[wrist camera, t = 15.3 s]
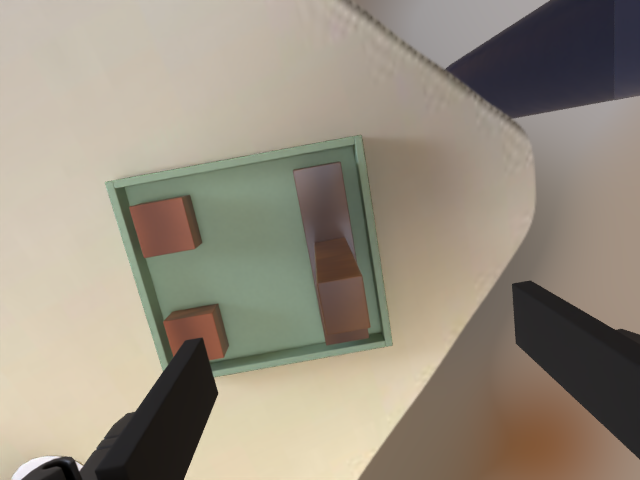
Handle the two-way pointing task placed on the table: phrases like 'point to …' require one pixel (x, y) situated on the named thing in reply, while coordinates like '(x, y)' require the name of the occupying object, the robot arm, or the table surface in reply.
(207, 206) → the tray
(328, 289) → the brown piece
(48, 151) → the table surface
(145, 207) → the chip
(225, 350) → the chip
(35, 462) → the wineglass
